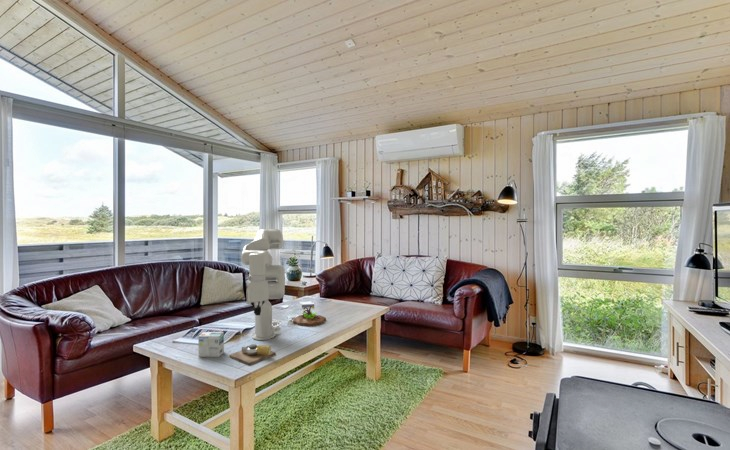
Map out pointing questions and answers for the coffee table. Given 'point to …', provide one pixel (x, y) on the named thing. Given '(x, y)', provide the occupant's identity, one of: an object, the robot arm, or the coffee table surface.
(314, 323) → the plant
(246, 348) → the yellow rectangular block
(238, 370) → the coffee table surface
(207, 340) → the light bulb box
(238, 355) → the wooden cheese board
